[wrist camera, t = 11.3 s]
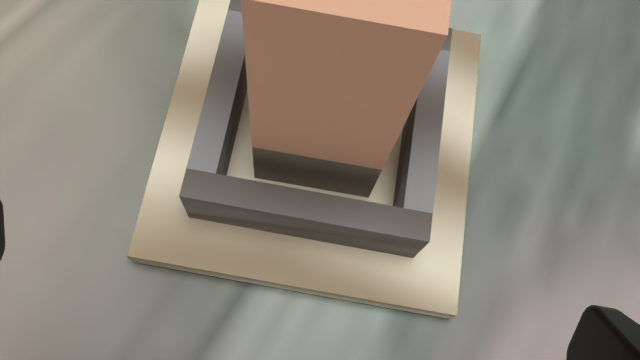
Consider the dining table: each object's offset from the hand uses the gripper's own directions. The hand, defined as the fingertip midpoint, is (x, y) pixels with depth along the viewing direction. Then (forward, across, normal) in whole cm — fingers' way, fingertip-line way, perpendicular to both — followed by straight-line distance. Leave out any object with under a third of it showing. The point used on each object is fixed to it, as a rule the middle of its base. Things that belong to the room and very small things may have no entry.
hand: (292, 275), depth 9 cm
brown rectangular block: (+14, 0, +3) cm, 15 cm away
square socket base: (+15, 0, +4) cm, 16 cm away
